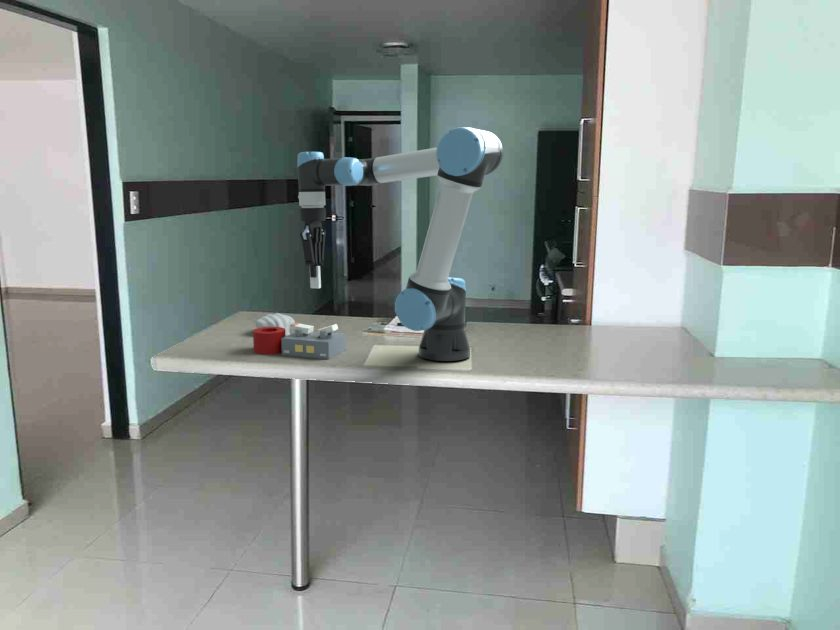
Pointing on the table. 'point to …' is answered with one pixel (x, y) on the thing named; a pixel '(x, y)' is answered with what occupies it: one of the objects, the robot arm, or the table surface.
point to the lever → (268, 340)
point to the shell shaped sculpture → (276, 322)
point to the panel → (313, 344)
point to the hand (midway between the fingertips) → (315, 287)
